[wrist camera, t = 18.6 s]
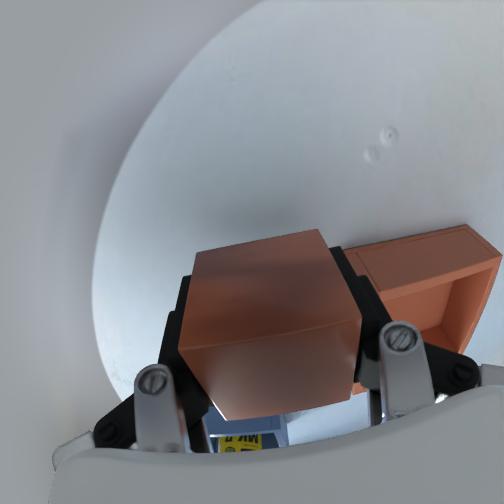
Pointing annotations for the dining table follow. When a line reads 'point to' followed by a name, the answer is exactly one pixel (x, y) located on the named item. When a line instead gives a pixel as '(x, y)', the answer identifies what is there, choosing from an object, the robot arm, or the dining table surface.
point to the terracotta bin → (432, 282)
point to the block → (271, 326)
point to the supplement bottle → (239, 443)
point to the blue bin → (248, 429)
